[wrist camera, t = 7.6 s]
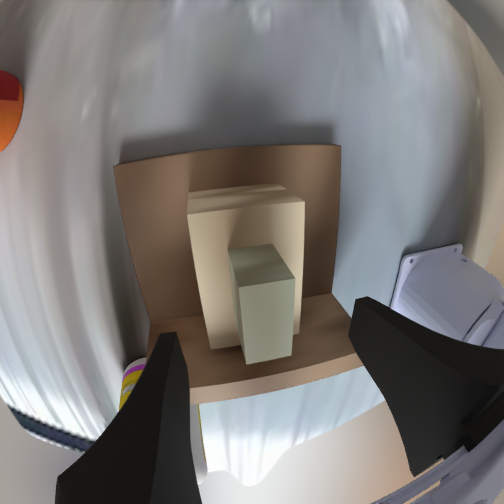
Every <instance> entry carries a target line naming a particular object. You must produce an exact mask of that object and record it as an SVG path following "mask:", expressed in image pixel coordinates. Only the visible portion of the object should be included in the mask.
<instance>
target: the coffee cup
mask: <svg viewBox="0 0 504 504" xmlns="http://www.w3.org/2000/svg"><path fill="white" fill-rule="evenodd" d="M22 111H23V90H22V86H21V84H20V82H19V80H18V79H17V78H16V77H15V76H14V75H12V74H10V73H8V72H5V71H2V70H0V152H1V151H2V150H4V149H5V148H6V147H7V145H8V144H9V143H10V141H11V140H12V138H13V137H14V135H15V133H16V131H17V128H18V126H19V123H20V120H21V116H22Z"/></svg>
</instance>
